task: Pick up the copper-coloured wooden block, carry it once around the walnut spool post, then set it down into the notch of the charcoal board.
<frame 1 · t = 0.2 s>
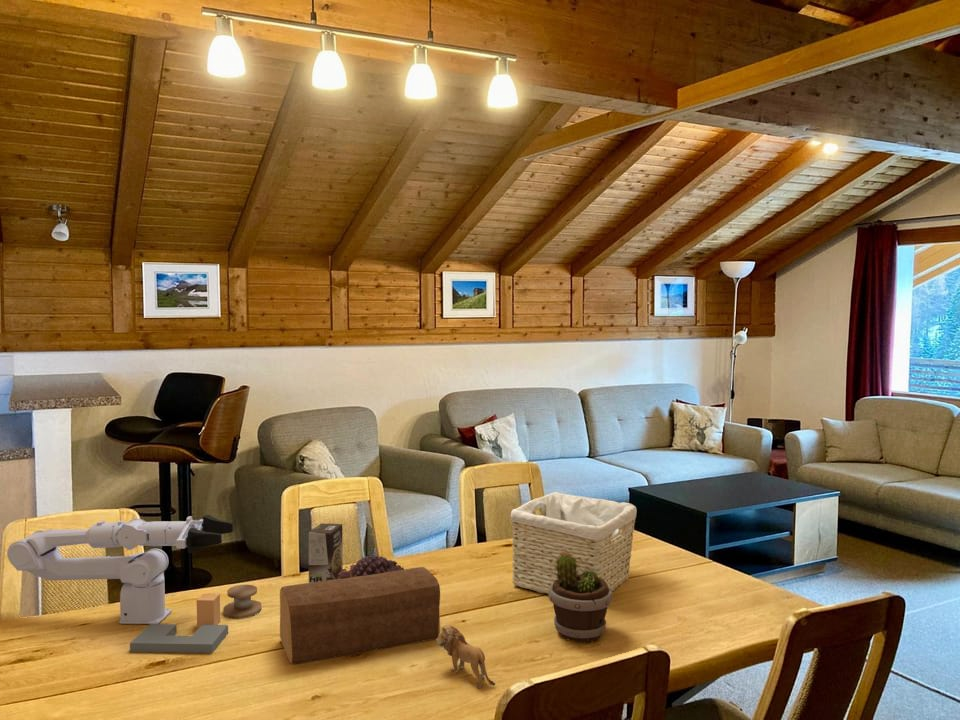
hand: (227, 533, 182), 21 cm above the table, tool horizontal, fingers open, 7 cm apart
spool post: (242, 610, 189), on the table
purple lumpy cluster: (372, 593, 201), on the table
coffee box: (326, 587, 206), on the table
bread: (360, 641, 173), on the table
notched board: (180, 642, 171), on the table
lion figurine: (464, 676, 157), on the table
basket: (573, 584, 209), on the table
flowerpot: (579, 634, 178), on the table
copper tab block: (208, 625, 180), on the table
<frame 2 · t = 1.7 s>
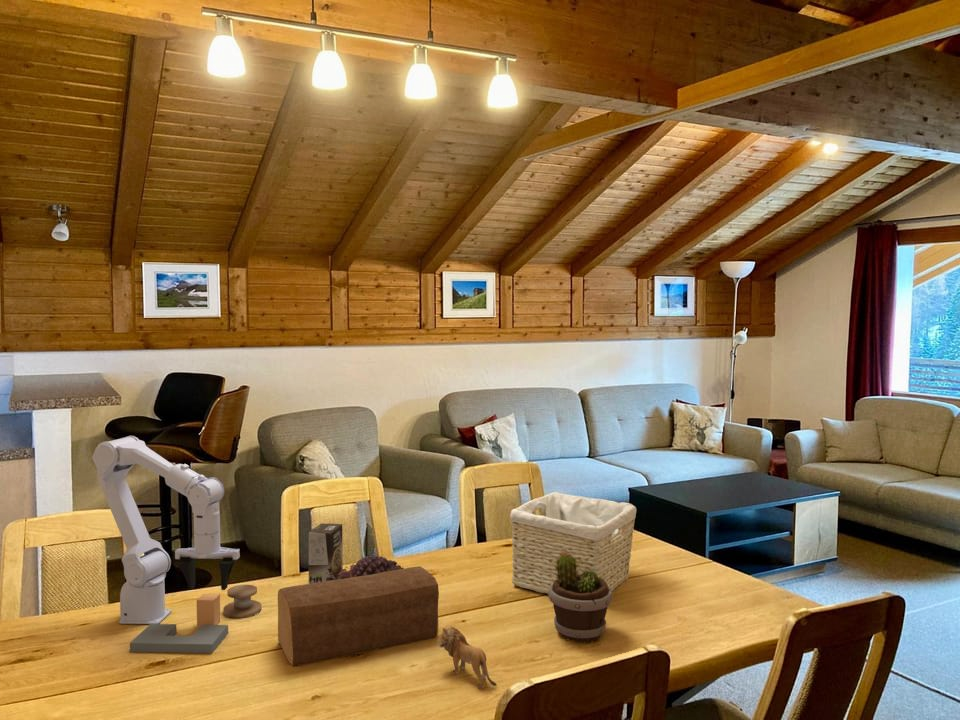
hand: (208, 588, 179), 9 cm above the table, tool pointing down, fingers open, 7 cm apart
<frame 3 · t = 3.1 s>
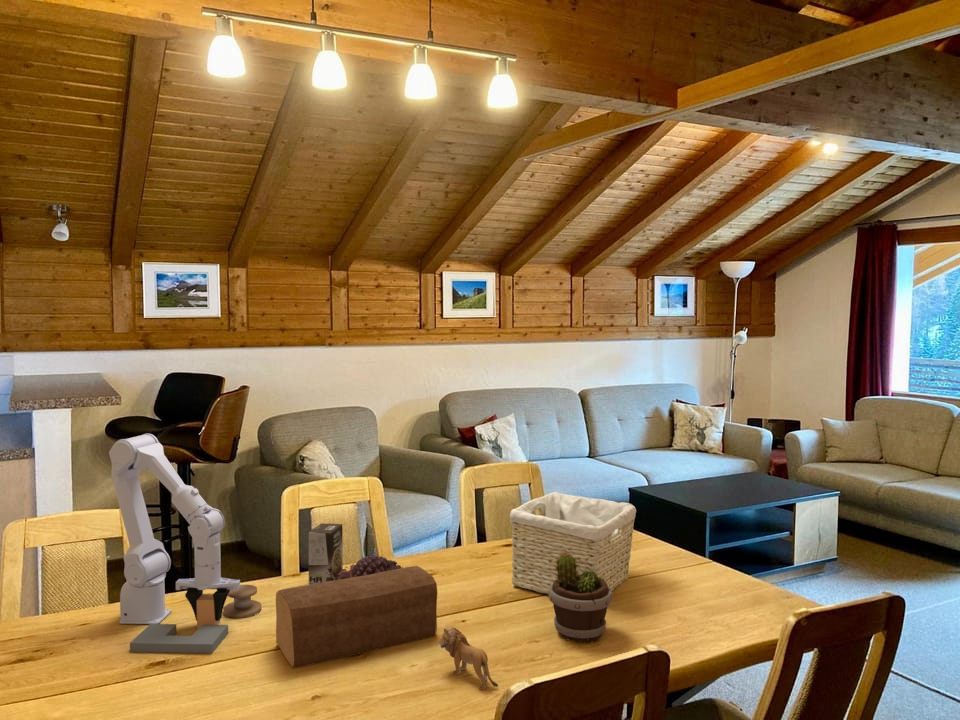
hand: (208, 619, 180), 2 cm above the table, tool pointing down, fingers closed on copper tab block, 4 cm apart
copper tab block: (208, 625, 180), on the table, touching gripper
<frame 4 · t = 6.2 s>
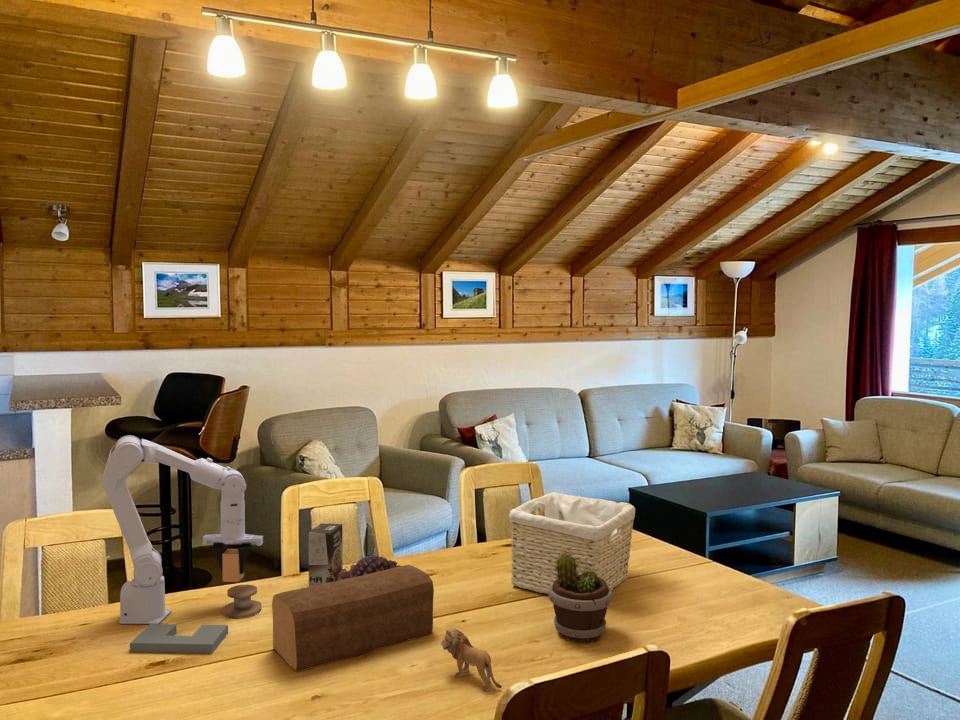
hand: (233, 572, 192), 8 cm above the table, tool pointing down, fingers closed on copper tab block, 4 cm apart
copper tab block: (233, 578, 192), point 7 cm above the table, touching gripper
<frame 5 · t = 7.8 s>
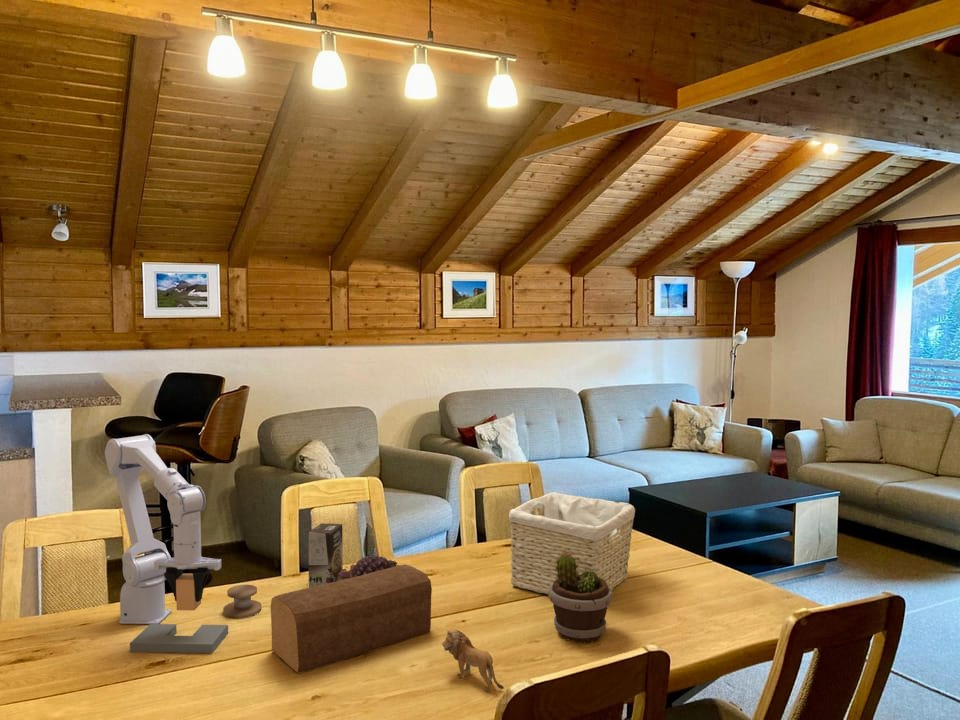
hand: (188, 599, 174), 9 cm above the table, tool pointing down, fingers closed on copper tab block, 4 cm apart
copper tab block: (189, 606, 174), point 7 cm above the table, touching gripper
when the fingers open (4 cm above the table, at t = 9.3 s): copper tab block drops 2 cm, on the table.
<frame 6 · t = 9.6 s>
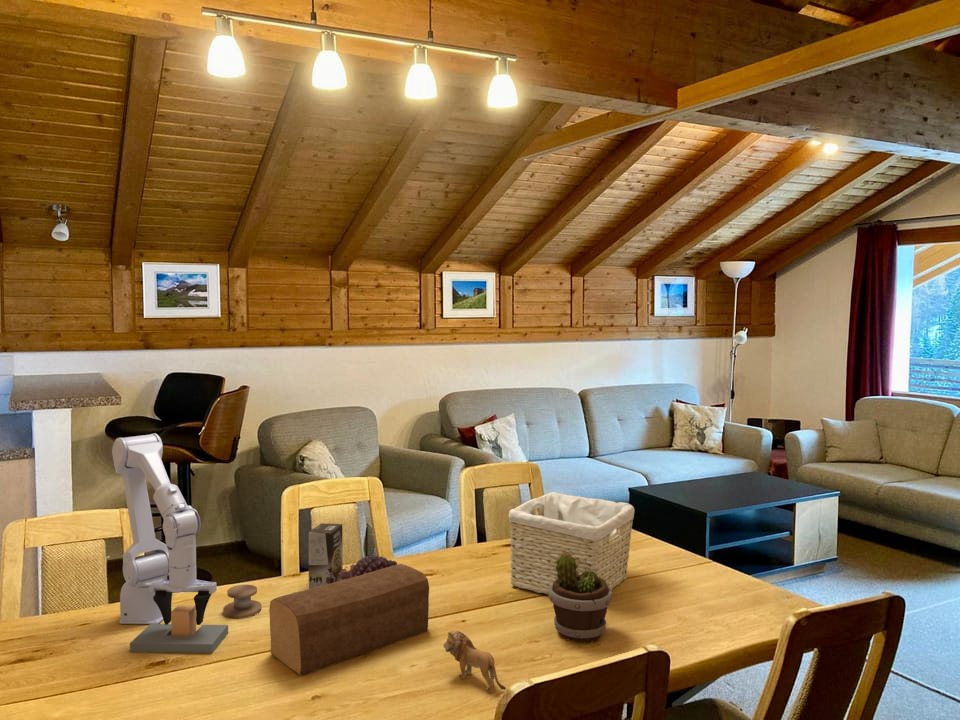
hand: (183, 623, 173), 4 cm above the table, tool pointing down, fingers open, 7 cm apart
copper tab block: (184, 638, 173), on the table
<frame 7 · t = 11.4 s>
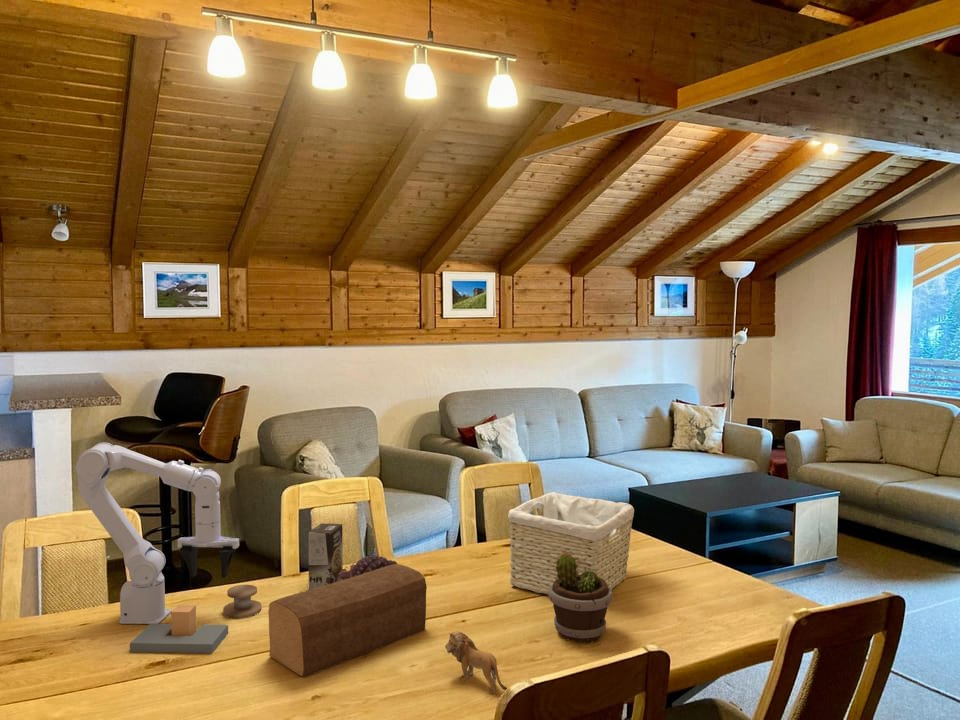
hand: (209, 576, 186), 9 cm above the table, tool pointing down, fingers open, 7 cm apart
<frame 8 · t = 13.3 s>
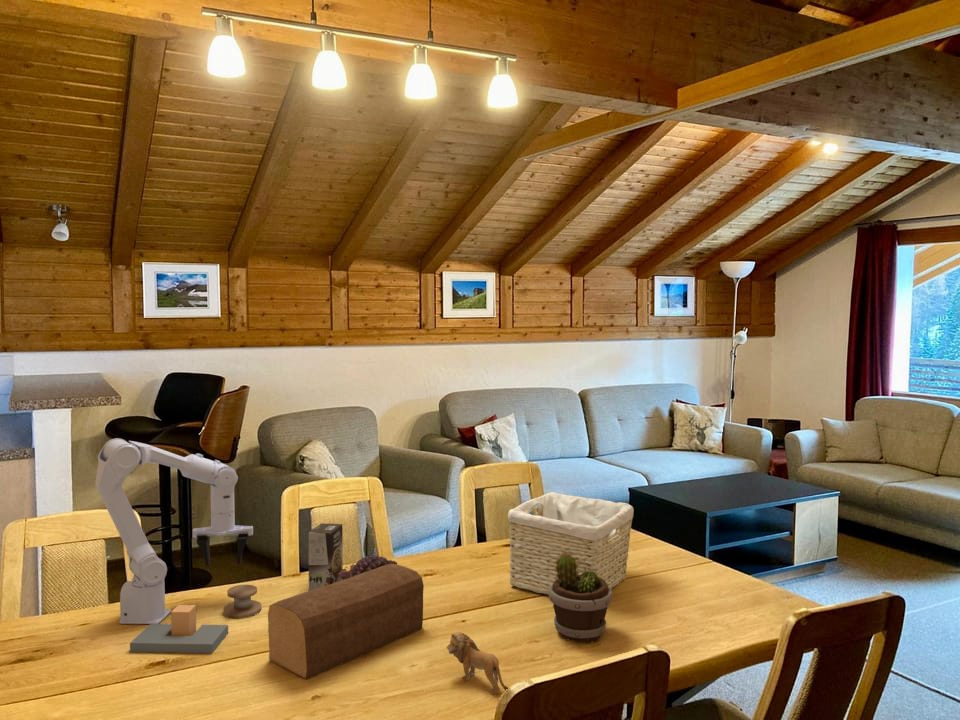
hand: (223, 563, 195), 9 cm above the table, tool pointing down, fingers open, 7 cm apart
at the end: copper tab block 0.1 cm from the target spot on the notched board, point 0.0 cm above the notched board's base; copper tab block tilted 0°; the gripper is holding nothing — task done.
